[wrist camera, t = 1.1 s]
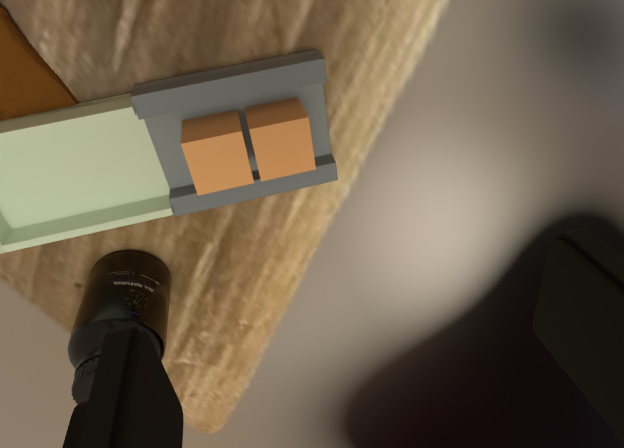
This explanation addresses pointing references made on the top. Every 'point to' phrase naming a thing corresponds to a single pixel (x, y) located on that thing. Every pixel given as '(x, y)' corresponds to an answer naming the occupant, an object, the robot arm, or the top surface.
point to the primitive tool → (26, 77)
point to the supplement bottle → (118, 310)
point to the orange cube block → (216, 152)
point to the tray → (77, 173)
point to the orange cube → (280, 138)
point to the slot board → (237, 95)
